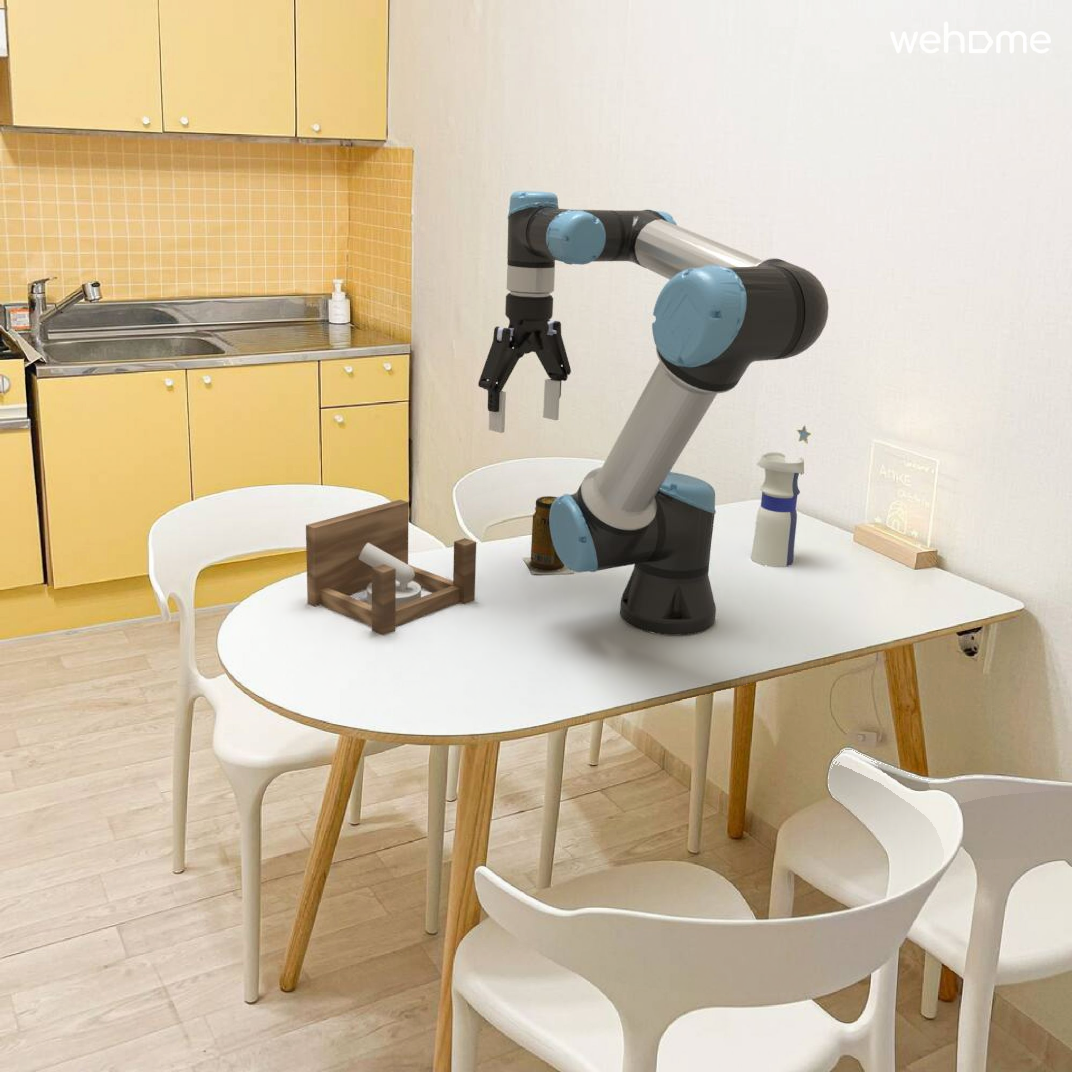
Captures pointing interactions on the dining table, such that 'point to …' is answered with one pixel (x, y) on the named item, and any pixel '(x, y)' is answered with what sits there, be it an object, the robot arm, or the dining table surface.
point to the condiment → (544, 542)
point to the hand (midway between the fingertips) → (524, 424)
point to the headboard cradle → (379, 568)
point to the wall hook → (404, 574)
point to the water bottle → (777, 509)
